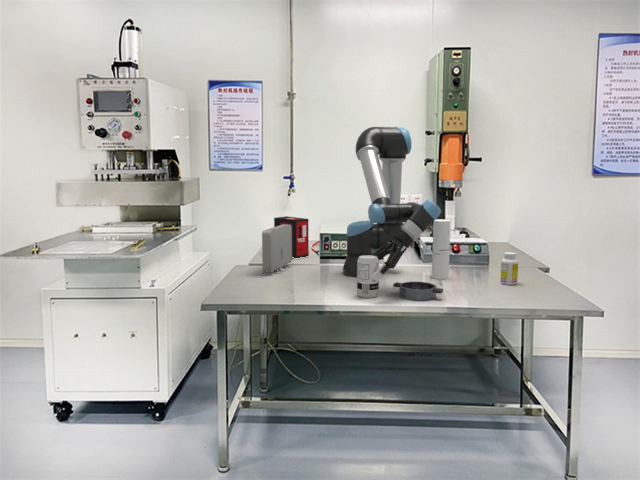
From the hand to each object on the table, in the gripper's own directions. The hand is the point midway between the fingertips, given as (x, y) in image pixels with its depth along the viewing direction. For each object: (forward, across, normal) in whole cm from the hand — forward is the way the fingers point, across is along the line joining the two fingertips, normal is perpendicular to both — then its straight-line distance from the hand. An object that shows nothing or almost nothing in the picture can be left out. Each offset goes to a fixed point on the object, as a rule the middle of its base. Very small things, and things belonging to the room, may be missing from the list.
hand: (368, 275), depth 208 cm
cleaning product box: (+17, +88, +6) cm, 89 cm away
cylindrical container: (-22, +25, -34) cm, 48 cm away
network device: (+25, +53, +14) cm, 61 cm away
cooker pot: (-7, -3, -19) cm, 20 cm away
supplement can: (+6, +1, -6) cm, 8 cm away
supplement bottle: (-38, +8, -51) cm, 64 cm away
